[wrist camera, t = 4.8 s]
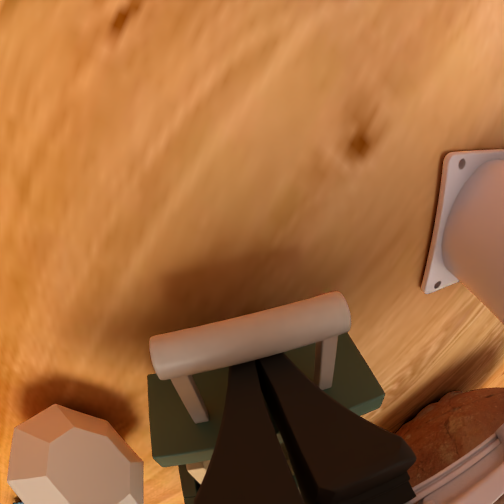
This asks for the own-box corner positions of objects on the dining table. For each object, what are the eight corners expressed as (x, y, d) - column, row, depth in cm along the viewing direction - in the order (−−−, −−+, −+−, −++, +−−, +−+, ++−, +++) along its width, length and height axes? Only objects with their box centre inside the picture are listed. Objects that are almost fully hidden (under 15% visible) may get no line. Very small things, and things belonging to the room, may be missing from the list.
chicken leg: (-4, 444, 17) (24, 528, 13) (-14, 387, 9) (43, 565, 5) (72, 440, 24) (101, 516, 20) (137, 382, 16) (197, 522, 11)
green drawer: (105, 296, 11) (92, 394, 7) (350, 239, 12) (414, 310, 9) (209, 468, 21) (220, 515, 17) (325, 437, 22) (344, 481, 18)
